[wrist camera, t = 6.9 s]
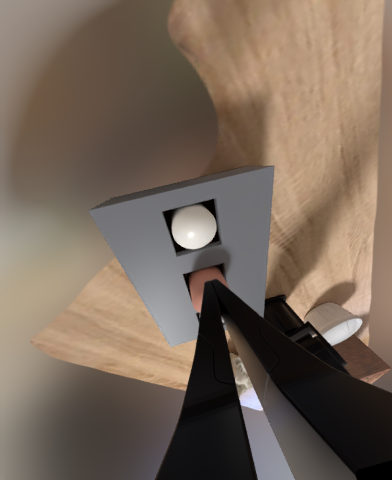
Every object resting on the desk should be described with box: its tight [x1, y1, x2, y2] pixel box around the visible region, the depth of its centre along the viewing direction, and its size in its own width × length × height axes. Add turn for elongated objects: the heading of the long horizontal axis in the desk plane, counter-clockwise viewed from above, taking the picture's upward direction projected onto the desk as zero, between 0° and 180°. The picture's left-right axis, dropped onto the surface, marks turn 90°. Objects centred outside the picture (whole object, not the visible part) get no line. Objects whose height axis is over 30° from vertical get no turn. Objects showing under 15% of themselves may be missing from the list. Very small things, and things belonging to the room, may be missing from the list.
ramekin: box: [304, 303, 362, 346], centre depth 35 cm, size 11×11×5 cm
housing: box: [89, 166, 274, 347], centre depth 19 cm, size 16×23×5 cm
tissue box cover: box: [332, 334, 391, 384], centre depth 48 cm, size 26×14×10 cm, turn 10°
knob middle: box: [187, 265, 230, 313], centre depth 17 cm, size 4×4×4 cm
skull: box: [229, 353, 253, 398], centre depth 39 cm, size 12×8×25 cm
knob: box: [171, 202, 217, 249], centre depth 15 cm, size 4×4×4 cm
